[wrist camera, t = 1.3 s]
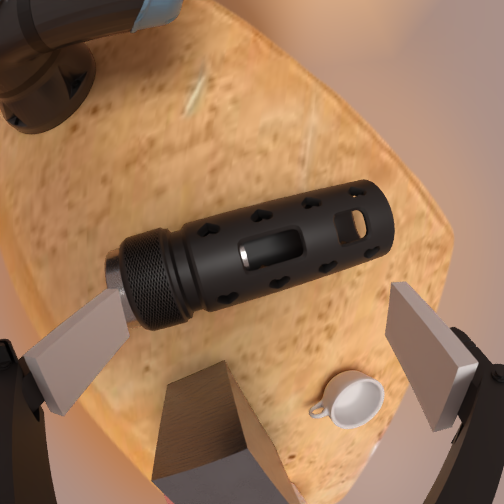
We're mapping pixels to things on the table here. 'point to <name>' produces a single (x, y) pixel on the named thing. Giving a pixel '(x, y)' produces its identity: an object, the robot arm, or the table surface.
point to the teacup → (350, 399)
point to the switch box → (216, 446)
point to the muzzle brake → (247, 253)
